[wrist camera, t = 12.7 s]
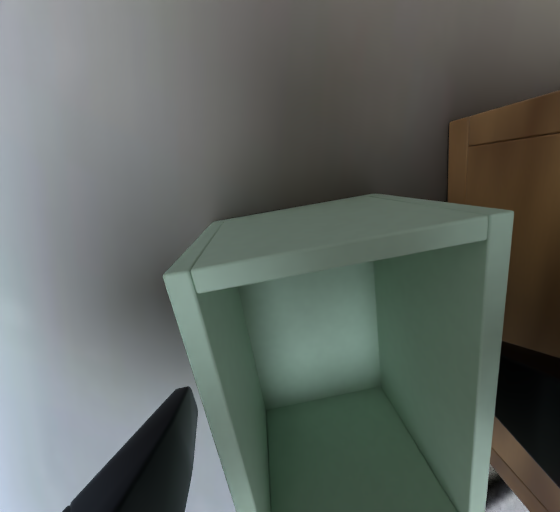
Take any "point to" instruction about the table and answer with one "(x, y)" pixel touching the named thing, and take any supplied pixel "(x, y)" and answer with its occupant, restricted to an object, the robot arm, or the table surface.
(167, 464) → the robot arm
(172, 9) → the table surface
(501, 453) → the crate
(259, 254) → the bin
